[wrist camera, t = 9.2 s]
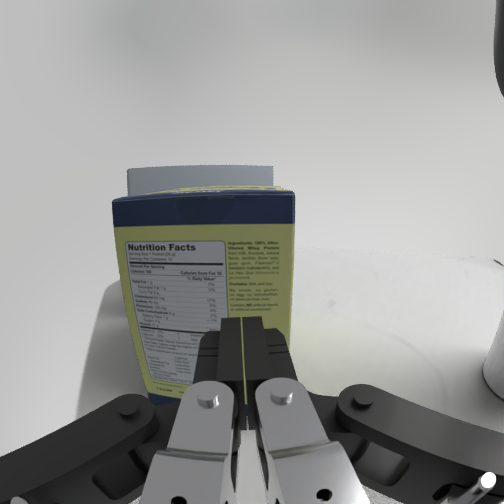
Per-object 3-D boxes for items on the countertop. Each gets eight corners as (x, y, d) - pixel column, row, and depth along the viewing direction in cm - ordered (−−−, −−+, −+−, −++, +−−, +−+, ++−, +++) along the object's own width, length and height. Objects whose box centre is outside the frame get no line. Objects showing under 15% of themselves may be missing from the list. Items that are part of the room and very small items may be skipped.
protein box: (278, 319, 32) (280, 185, 28) (285, 418, 17) (299, 190, 13) (192, 317, 33) (183, 187, 29) (148, 407, 18) (106, 197, 14)
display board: (251, 274, 48) (250, 167, 43) (272, 285, 43) (273, 166, 38) (135, 299, 37) (123, 172, 32) (144, 316, 32) (129, 168, 28)
